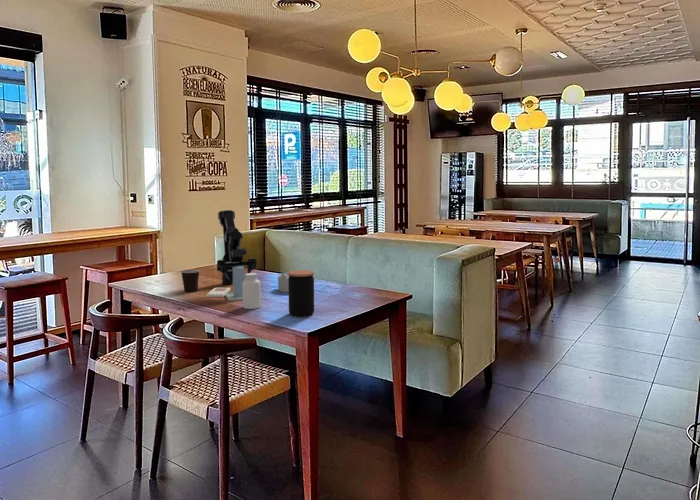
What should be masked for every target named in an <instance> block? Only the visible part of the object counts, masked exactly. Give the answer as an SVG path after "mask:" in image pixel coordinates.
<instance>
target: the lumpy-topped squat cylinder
mask: <svg viewBox="0 0 700 500" xmlns="http://www.w3.org/2000/svg"><path fill="white" fill-rule="evenodd" d="M288 272H289V271H287V272H285V273H284V272H283V273H281V274H279V275H278V277H277V282H278V283H277V287H278V289H277V290H278V291H279V292H282V293H288V294H289V284H288V278H289V277H290V276H289V274H288Z"/></svg>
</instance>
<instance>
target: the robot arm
mask: <svg viewBox="0 0 700 500" xmlns="http://www.w3.org/2000/svg"><path fill="white" fill-rule="evenodd" d="M235 214H236V212H235V211H233V210H231V209H229V210H228V209H227V210H226V209H225V210H220V211H219V212H217V219H218V221H219V224H220V226H221V227H222V233H223V248H224V249H223V250H224V254H223V257H222V259H218V260H216V271H217V272H220V273H221V274H222V275H221V276H222V277H221V278H222V282H221V284H222V285H227V286H230V285H233V270H232V267H241V266H243V267H246V268H247V269H246V270H247V271H246V274H247V273H252V271H254V270H255V269H257V263H258V262H257V261H258V260H257V258H256V257H251V258H249V257H248V258H247V261H244V257H243V256H246V255H247V248H246V247H243V248H241V244H242V239H244V236H243V233H242V232H240V231H239V229H238V228H237V227H236V225H235V219H236V215H235Z"/></svg>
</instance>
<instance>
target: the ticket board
mask: <svg viewBox="0 0 700 500" xmlns="http://www.w3.org/2000/svg"><path fill="white" fill-rule="evenodd" d="M230 291H231V287H214V288H213V289H211V290H210V291H209V292H208V293H207V294H206V297H205V298H213V297H214V298H223V297H226V296H225V293H230Z"/></svg>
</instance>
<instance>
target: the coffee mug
mask: <svg viewBox="0 0 700 500" xmlns="http://www.w3.org/2000/svg"><path fill="white" fill-rule="evenodd" d="M181 278H182V285H183V290H184V293H196V292H198V291H199V290H198V289H199V279H200V270H198V269H188V270H187V269H185V270H181Z"/></svg>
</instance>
